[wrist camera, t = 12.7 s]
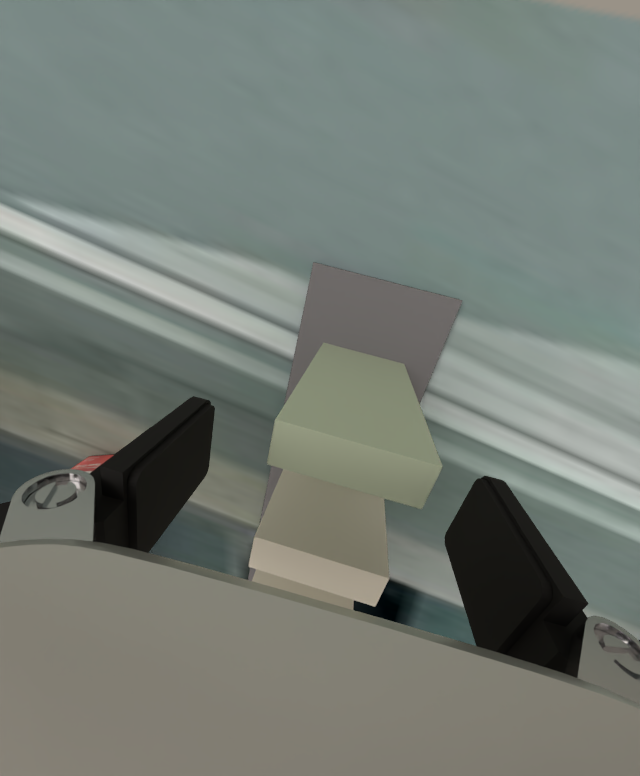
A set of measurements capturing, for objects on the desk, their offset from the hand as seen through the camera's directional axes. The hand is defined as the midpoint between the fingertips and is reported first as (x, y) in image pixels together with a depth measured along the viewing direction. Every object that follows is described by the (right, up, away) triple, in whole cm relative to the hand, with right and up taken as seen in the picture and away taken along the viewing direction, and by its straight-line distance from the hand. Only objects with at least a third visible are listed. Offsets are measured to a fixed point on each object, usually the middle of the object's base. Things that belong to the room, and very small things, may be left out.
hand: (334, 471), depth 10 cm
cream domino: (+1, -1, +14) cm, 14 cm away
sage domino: (+2, +5, +11) cm, 12 cm away
